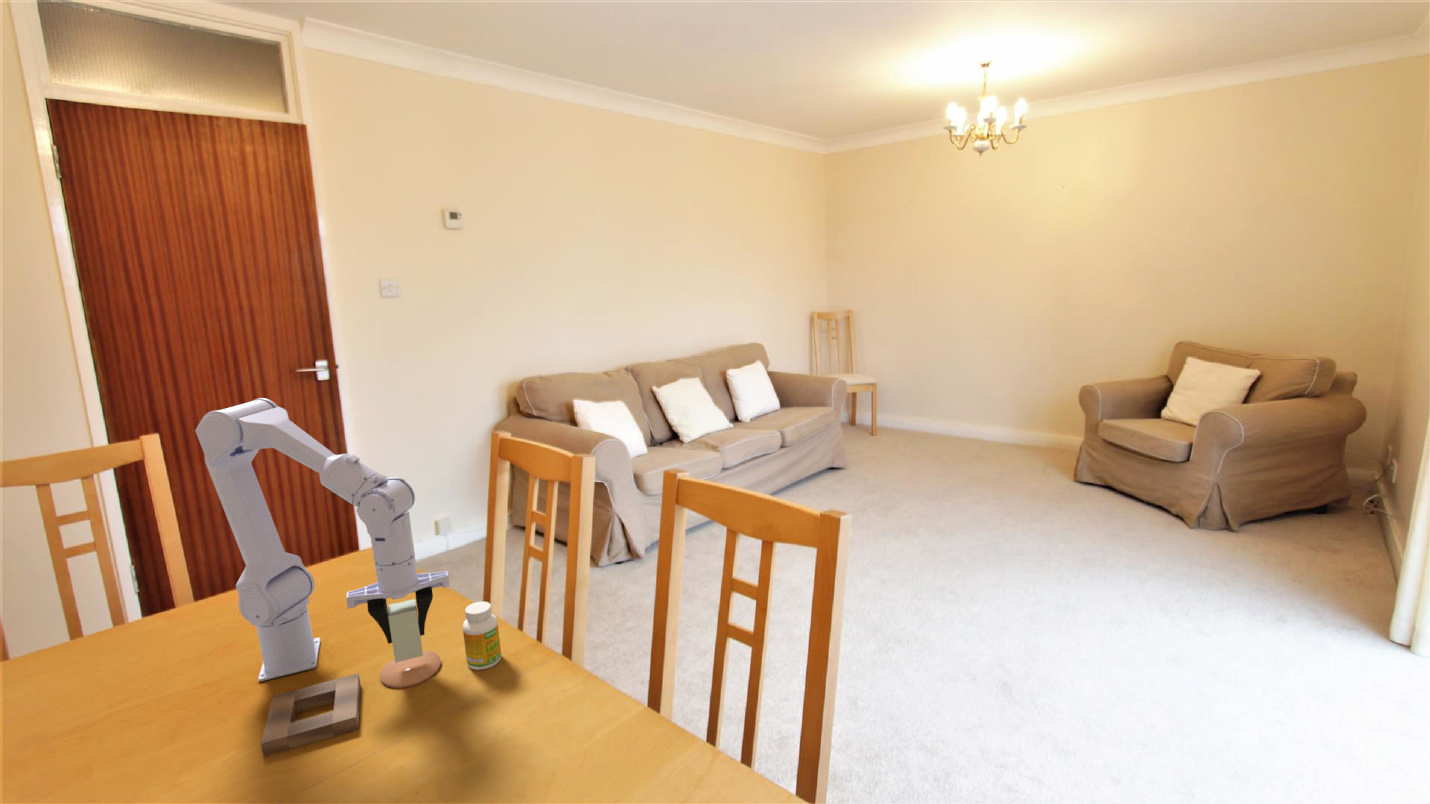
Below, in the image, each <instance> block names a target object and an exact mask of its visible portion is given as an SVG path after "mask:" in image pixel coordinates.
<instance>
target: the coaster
mask: <svg viewBox="0 0 1430 804" xmlns="http://www.w3.org/2000/svg"><path fill="white" fill-rule="evenodd" d="M422 652H423V656H420V657H416V658H412V659H408V660H404V661H400V662H397V663H395V658H393V659H391V660H390V661H388V662H387V663H386V664H385V665H384V666H382V668H381V670H380V672H379V679H380V683H381V684H383V685H384V686H385V687H387V688H394V689H400V688H401V689H403V688H408V687H412V686H416V685H419V684H421V683H423V682H426V681H427V680H428V679H430V678H432V677H433V676H435V675H436V674H437V673H438V672H439V670H440V668H441V667H442V666H441V665H442V660H441V657H440V655H439V654H437V653H436V652H433V651H429V650H422Z"/></svg>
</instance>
